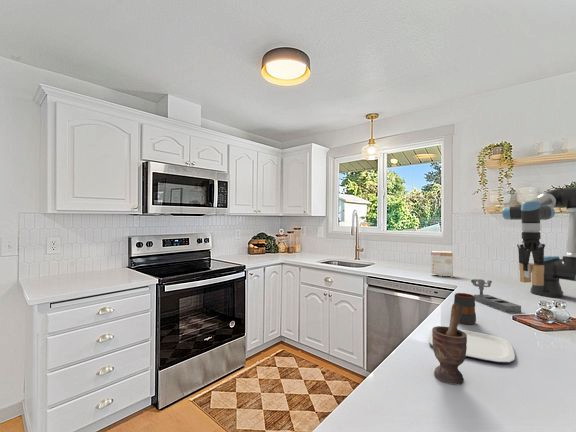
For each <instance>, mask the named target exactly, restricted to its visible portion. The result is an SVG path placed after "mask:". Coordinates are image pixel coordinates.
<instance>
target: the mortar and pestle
mask: <svg viewBox="0 0 576 432" xmlns="http://www.w3.org/2000/svg"><path fill="white" fill-rule="evenodd" d="M450 309H451V310H450V318H449V326H443V325H442V326H439V325H438V326H437V325H436V326H434V327H432V330H431V333H432V337H433V339H432V342H433V346H432V350H433V353H434V356H435V359H436V360H437V361H438V362H439V365H437V366H436V367H435V368H434V371H433V376H434V377H435V378H436V379H437V380H438V381H439V382H442V383H447V384H451V385H461V384H463V383H464V380H465V378H464V375H463V374H462V372H461V371H460V370H459V366H461V365H462V364H463V363H464V362H465V358H466V350H467V346H466V344H467V334H465V333H464V332H462V331H461V330H462V329H460V330H458V329H459V328H458V325H459V324H460V323H459V320H460V317H461V315H462V310H463V306H462V305H461V304H458V303H454V302H453V303H452V306H451V308H450Z"/></svg>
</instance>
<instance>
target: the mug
mask: <svg viewBox="0 0 576 432" xmlns="http://www.w3.org/2000/svg"><path fill="white" fill-rule="evenodd" d="M454 303H458V304H461V305H462V306H463V310H462V315H461V317H460V320H459V323H458V324H462V325H467V326H468V325H470V326H471V325H472V326H473V325H475V324H476V322H477V316H476V315H477V314H476V301H475V297H474V294H469V293H464V292H458V293H454V299H453V304H454Z"/></svg>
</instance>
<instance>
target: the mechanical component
mask: <svg viewBox="0 0 576 432" xmlns="http://www.w3.org/2000/svg"><path fill="white" fill-rule="evenodd" d="M470 282H471V284H472V285H473V286H474V287H478V290H479V295H484V290H485V288H490V287H491V285H492V280H490V279H488V280H487V281H485V280H484V279H481V278H480V279H478V278H472V279H470Z"/></svg>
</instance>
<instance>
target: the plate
mask: <svg viewBox="0 0 576 432" xmlns="http://www.w3.org/2000/svg"><path fill="white" fill-rule="evenodd" d="M457 329H458V330H461V331H462V332H464V333H465V334H467V344H466V346H467V350H466V356H465V358H466V357H467V358H472V359H477V360H481V361H487V362H491V363H492V362H493V363H496V364H497V363H501V364H505V363H506V364H510V363H512V362H514V361H515V360H516V353H515V351H514V350H515V349H514V348H513V346H512V344H511V343H510V341H507V340H506V339H504V338H501V337H499V336H497V335H496V336H495V335H493V334H487V333H482V332H477V331H471V330H465V329H461V328H460V329H459V328H457ZM432 339H433V337H432V332H431V333H430V335H429V339H428V341H429V344H430V345H431V346H432V347H433V342H432Z"/></svg>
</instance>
